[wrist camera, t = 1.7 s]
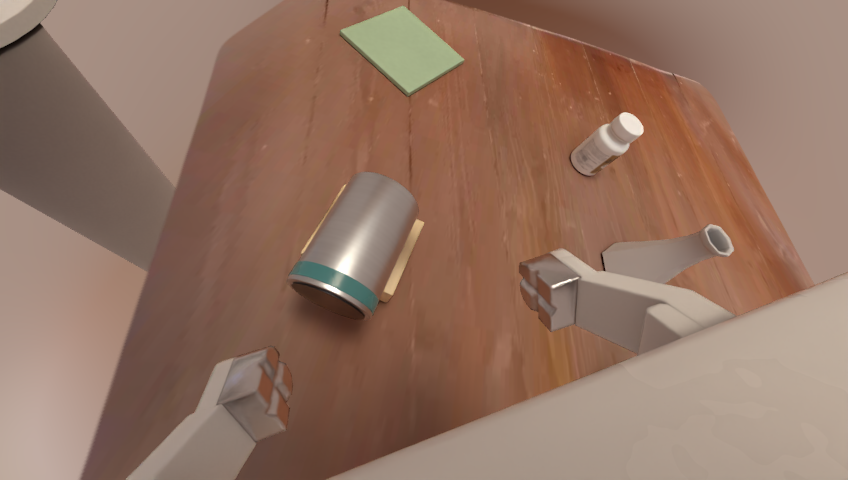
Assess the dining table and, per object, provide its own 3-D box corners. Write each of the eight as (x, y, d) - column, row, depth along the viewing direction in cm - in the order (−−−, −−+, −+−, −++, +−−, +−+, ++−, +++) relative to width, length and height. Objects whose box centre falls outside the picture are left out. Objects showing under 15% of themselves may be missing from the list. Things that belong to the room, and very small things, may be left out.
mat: (339, 34, 39) (339, 30, 38) (402, 9, 44) (403, 5, 44) (407, 96, 38) (409, 93, 37) (463, 63, 44) (464, 59, 43)
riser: (386, 303, 27) (392, 295, 25) (302, 264, 27) (300, 253, 24) (416, 235, 31) (424, 222, 28) (343, 199, 30) (344, 183, 27)
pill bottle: (592, 182, 42) (645, 145, 35) (566, 164, 41) (613, 123, 35) (599, 162, 44) (649, 123, 37) (573, 145, 43) (619, 102, 37)
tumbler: (365, 327, 23) (376, 314, 18) (289, 294, 23) (278, 269, 17) (409, 231, 27) (429, 196, 22) (346, 200, 27) (351, 157, 21)
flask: (660, 294, 37) (764, 270, 28) (618, 306, 35) (718, 284, 26) (632, 239, 39) (720, 201, 31) (591, 247, 37) (674, 208, 28)
